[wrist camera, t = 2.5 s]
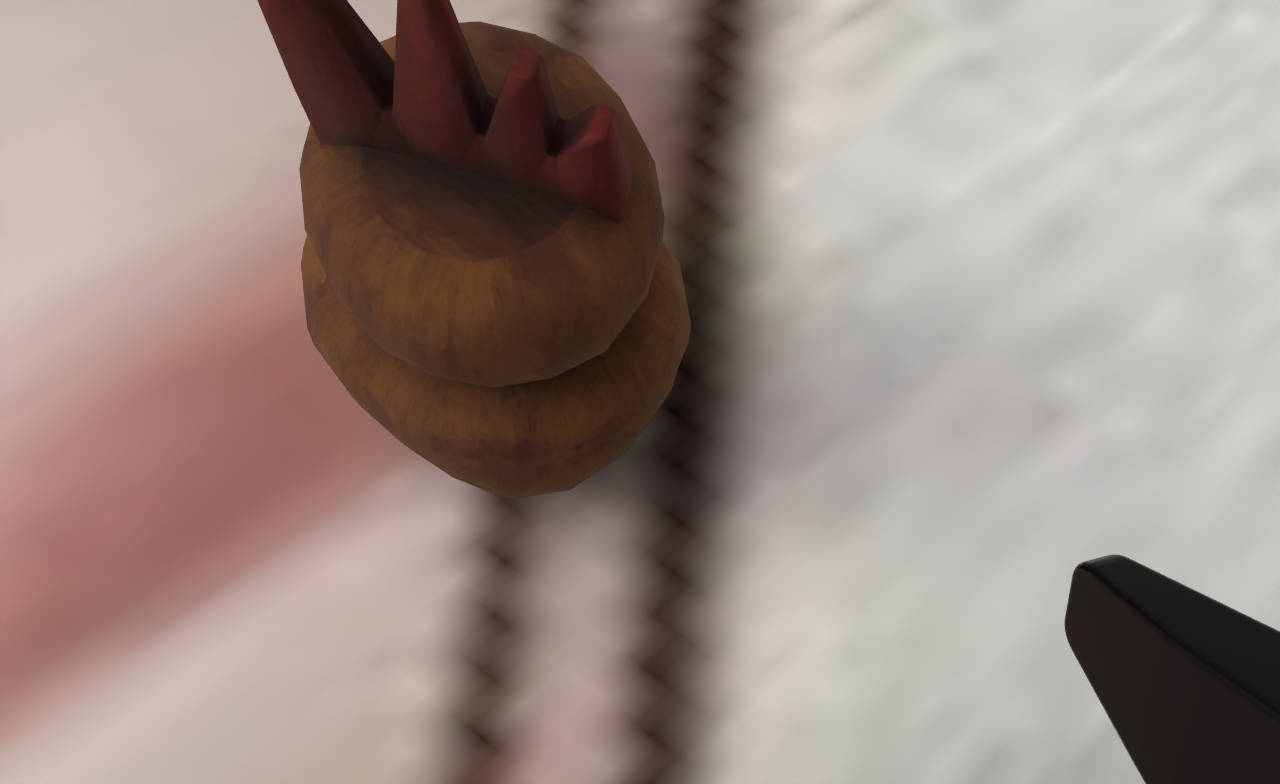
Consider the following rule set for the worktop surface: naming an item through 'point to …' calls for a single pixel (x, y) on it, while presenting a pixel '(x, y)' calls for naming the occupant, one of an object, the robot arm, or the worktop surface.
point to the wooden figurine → (480, 243)
